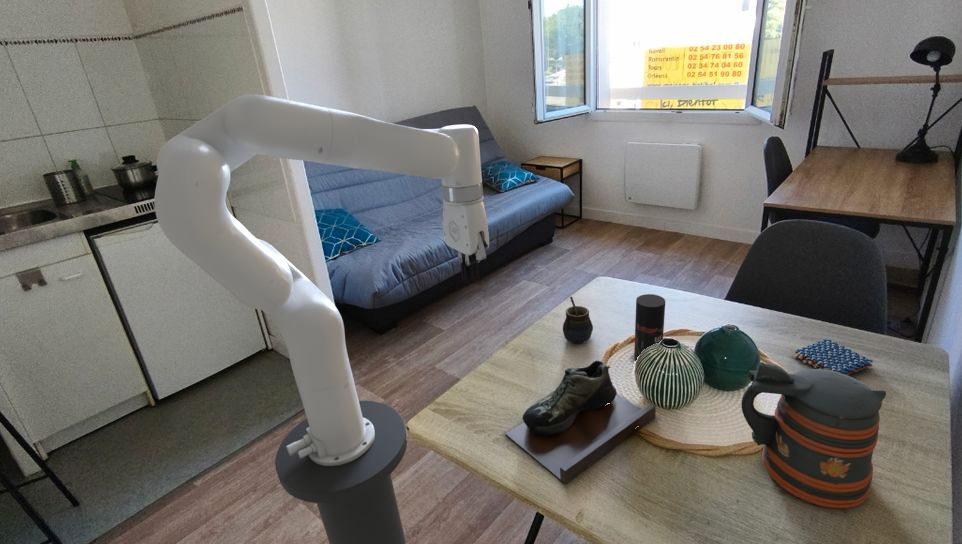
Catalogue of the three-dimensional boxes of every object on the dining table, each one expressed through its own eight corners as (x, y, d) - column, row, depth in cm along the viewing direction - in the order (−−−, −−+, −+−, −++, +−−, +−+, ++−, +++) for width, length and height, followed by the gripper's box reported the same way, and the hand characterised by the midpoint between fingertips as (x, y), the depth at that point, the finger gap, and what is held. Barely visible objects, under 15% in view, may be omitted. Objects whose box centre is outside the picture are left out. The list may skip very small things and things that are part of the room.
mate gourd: (573, 350, 119) (572, 313, 115) (556, 336, 126) (555, 301, 122) (598, 342, 122) (598, 305, 118) (580, 328, 128) (580, 293, 124)
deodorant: (652, 370, 110) (655, 309, 104) (628, 360, 114) (630, 301, 108) (666, 358, 113) (670, 299, 107) (643, 348, 117) (645, 291, 111)
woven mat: (825, 343, 113) (827, 336, 112) (873, 368, 104) (876, 359, 103) (790, 356, 110) (792, 348, 109) (837, 382, 101) (839, 374, 100)
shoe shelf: (565, 484, 84) (565, 471, 82) (505, 434, 96) (504, 422, 94) (655, 418, 96) (656, 405, 95) (592, 381, 108) (592, 369, 107)
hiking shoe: (512, 422, 98) (509, 383, 94) (593, 379, 108) (593, 343, 104) (539, 447, 91) (537, 407, 87) (622, 399, 101) (624, 361, 97)
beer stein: (745, 501, 78) (762, 397, 69) (725, 434, 90) (738, 340, 82) (887, 516, 73) (923, 406, 65) (845, 444, 86) (871, 345, 78)
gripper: (426, 190, 99) (437, 274, 107) (468, 204, 88) (476, 297, 95) (458, 182, 103) (466, 265, 110) (502, 195, 92) (507, 286, 99)
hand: (471, 280), depth 103 cm, fingers closed
